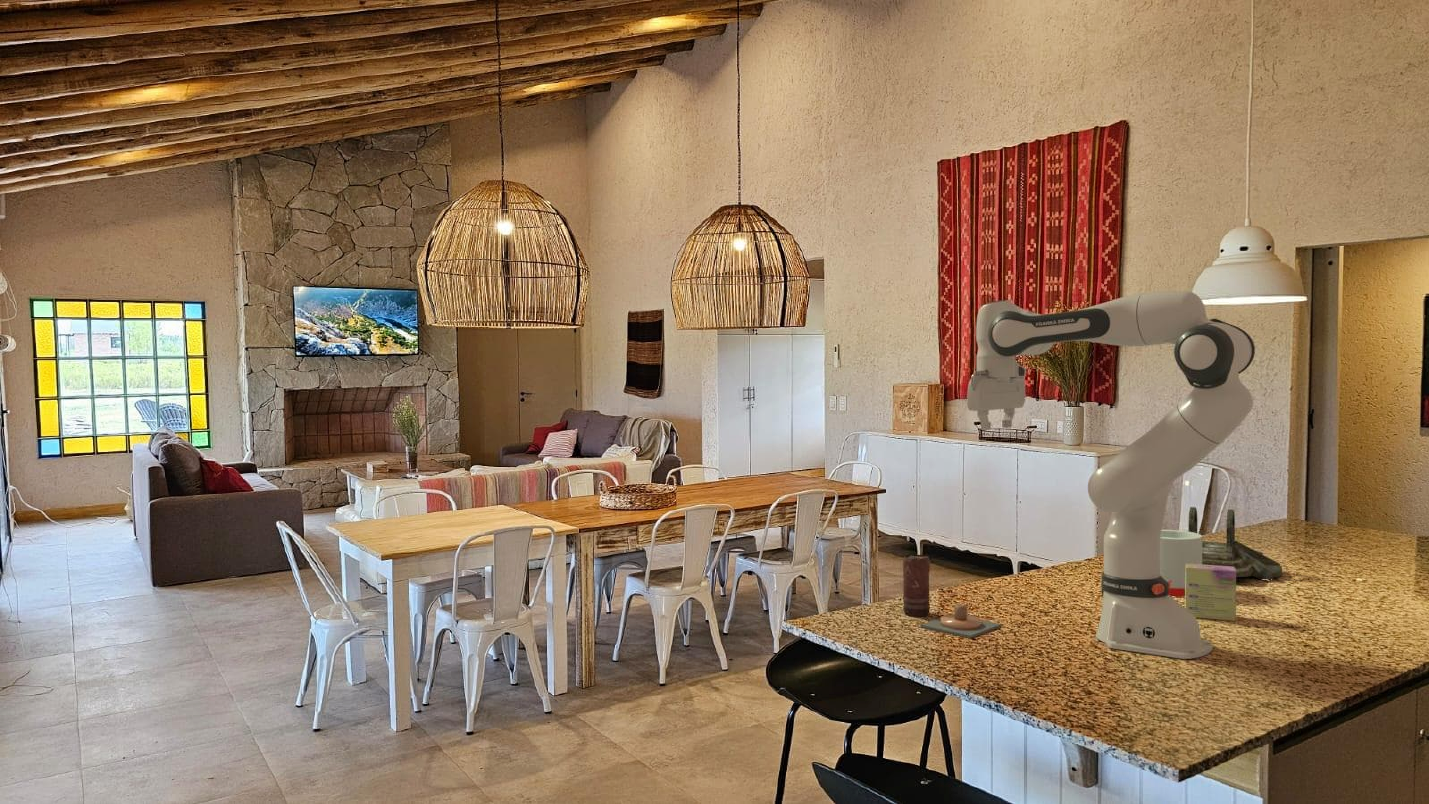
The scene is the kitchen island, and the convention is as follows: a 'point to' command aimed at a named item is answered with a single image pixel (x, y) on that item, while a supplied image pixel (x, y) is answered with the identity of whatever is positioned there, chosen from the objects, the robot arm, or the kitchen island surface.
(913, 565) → the can
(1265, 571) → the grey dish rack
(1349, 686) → the kitchen island surface
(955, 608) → the lid
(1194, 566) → the box
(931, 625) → the mat
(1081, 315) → the robot arm
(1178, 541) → the container
